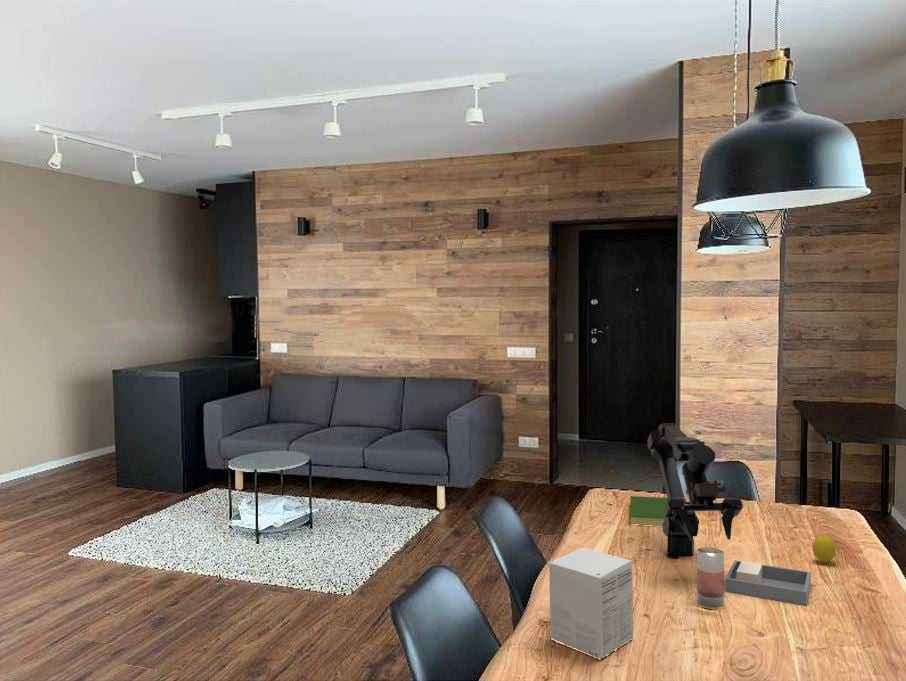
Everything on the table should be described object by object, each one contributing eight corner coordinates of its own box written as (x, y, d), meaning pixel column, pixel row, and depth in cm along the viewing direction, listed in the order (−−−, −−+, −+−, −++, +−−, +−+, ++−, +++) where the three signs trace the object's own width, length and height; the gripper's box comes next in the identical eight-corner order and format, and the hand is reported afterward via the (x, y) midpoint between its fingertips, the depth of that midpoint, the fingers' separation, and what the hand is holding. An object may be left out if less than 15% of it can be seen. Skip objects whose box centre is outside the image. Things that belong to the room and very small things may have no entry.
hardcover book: (690, 530, 223) (689, 519, 223) (629, 527, 228) (629, 515, 228) (685, 508, 247) (685, 498, 247) (630, 505, 252) (630, 495, 252)
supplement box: (635, 639, 151) (634, 560, 150) (601, 662, 142) (599, 578, 141) (584, 620, 160) (582, 546, 160) (548, 641, 151) (547, 562, 150)
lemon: (838, 567, 189) (838, 538, 188) (816, 566, 190) (816, 537, 189) (831, 559, 194) (831, 531, 194) (810, 558, 195) (810, 530, 195)
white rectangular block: (736, 586, 175) (736, 571, 175) (741, 575, 182) (741, 560, 182) (758, 590, 173) (758, 574, 173) (762, 579, 180) (762, 564, 179)
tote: (725, 594, 173) (725, 578, 173) (734, 575, 185) (734, 560, 185) (806, 608, 164) (806, 592, 164) (810, 587, 176) (810, 572, 176)
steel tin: (694, 607, 166) (694, 553, 165) (700, 597, 171) (699, 545, 171) (721, 612, 163) (721, 558, 162) (726, 602, 168) (726, 549, 168)
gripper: (667, 468, 178) (680, 526, 168) (741, 467, 178) (758, 525, 168) (658, 488, 187) (670, 544, 177) (728, 487, 186) (744, 543, 177)
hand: (710, 539), depth 174 cm, fingers open, 9 cm apart
